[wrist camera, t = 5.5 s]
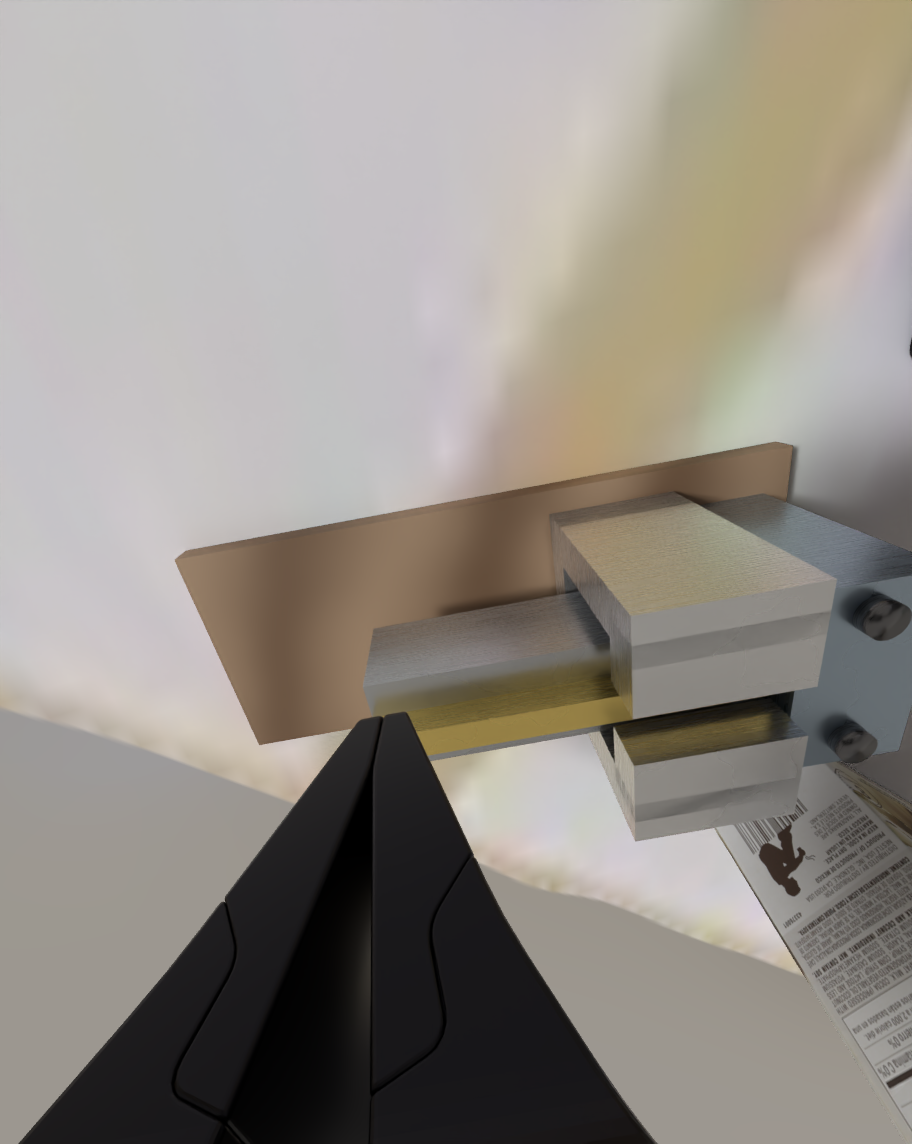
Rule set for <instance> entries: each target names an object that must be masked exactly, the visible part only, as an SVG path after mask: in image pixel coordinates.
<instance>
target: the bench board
mask: <svg viewBox="0 0 912 1144" xmlns="http://www.w3.org/2000/svg"><path fill="white" fill-rule="evenodd" d="M792 450H793V446H792V445H787V444H783V443H779V442H772V443H767V444H761V445H756V446H750V447H745V448H740V449H734V450H729V451H723V452H718V453H713V454H707V455H702V456H696V457H691V458H686V459H680V460H675V461H669V462H664V463H658V464H653V465H648V466H642V467H637V468H631V469H626V470H621V471H615V472H610V473H604V474H599V475H594V476H588V477H583V478H577V479H572V480H566V481H561V482H556V483H550V484H545V485H539V486H534V487H529V488H523V489H518V490H512V491H507V492H502V493H496V494H491V495H485V496H480V497H474V498H469V499H464V500H458V501H453V502H447V503H442V504H437V505H431V506H426V507H420V508H415V509H410V510H404V511H399V512H393V513H388V514H382V515H377V516H372V517H366V518H361V519H355V520H350V521H345V522H339V523H334V524H328V525H323V526H318V527H312V528H307V529H301V530H296V531H290V532H285V533H280V534H274V535H269V536H263V537H258V538H253V539H247V540H242V541H236V542H231V543H226V544H220V545H215V546H209V547H204V548H198V549H193V550H188V551H185V552H184V553H183V554H181V555H180V556H179V557H178V558H176V559H175V562H176V564H177V567H178V569H179V571H180V573H181V575H182V577H183V580H184V582H185V584H186V586H187V588H188V591H189V593H190V595H191V597H192V599H193V601H194V604H195V606H196V608H197V610H198V612H199V615H200V617H201V619H202V621H203V623H204V625H205V628H206V630H207V632H208V634H209V636H210V638H211V641H212V643H213V645H214V647H215V649H216V652H217V654H218V656H219V658H220V660H221V662H222V665H223V667H224V669H225V671H226V673H227V676H228V678H229V680H230V682H231V684H232V686H233V689H234V691H235V693H236V695H237V697H238V700H239V702H240V704H241V706H242V708H243V710H244V713H245V715H246V717H247V719H248V721H249V724H250V726H251V728H252V730H253V732H254V734H255V737H256V739H257V741H258V743H259V745H262V744H268V743H273V742H279V741H285V740H290V739H296V738H301V737H307V736H313V735H318V734H324V733H330V732H335V731H341V730H346V729H352V728H354V726H355V725H356V724H357V722H358V721H360V720H361V719H365V718H370V717H372V715H371V712H370V708H369V705H368V702H367V699H366V696H365V693H364V689H363V683H364V677H365V672H366V667H367V661H368V656H369V651H370V645H371V640H372V635H373V630H374V628H379V627H385V626H390V625H396V624H401V623H407V622H412V621H418V620H423V619H429V618H434V617H440V616H445V615H451V614H456V613H462V612H467V611H473V610H478V609H484V608H489V607H495V606H501V605H506V604H512V603H517V602H523V601H528V600H534V599H539V598H545V597H550V596H556V595H557V592H556V581H555V570H554V560H553V549H552V538H551V528H550V517H549V514H553V513H558V512H564V511H569V510H575V509H580V508H586V507H591V506H596V505H602V504H607V503H613V502H618V501H624V500H629V499H635V498H640V497H645V496H651V495H656V494H662V493H667V492H675V493H677V494H679V495H681V496H683V497H685V498H686V499H688V500H690V501H692V502H694V503H696V504H698V505H702V504H708V503H713V502H718V501H724V500H729V499H735V498H740V497H746V496H751V495H757V494H762V493H764V494H767V495H769V496H772V497H774V498H777V499H779V500H782V501H784V502H786V499H787V491H788V483H789V475H790V466H791V458H792Z"/></svg>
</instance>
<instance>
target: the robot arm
mask: <svg viewBox="0 0 912 1144" xmlns="http://www.w3.org/2000/svg"><path fill="white" fill-rule="evenodd" d="M910 353H911V356H912V340H911V345H910ZM19 1144H657V1142H656V1141H655V1140H654V1139H653V1138H652V1136H651V1135H650V1134H649V1133H648V1131H647V1130H646V1129H645V1128H644V1126H643V1125H642V1124H641V1122H640V1121H639V1120H638V1119H637V1117H636V1116H635V1115H634V1113H633V1112H632V1111H631V1109H630V1108H629V1106H628V1105H627V1104H626V1102H625V1101H624V1100H623V1098H622V1097H621V1095H620V1094H619V1093H618V1091H617V1090H616V1088H615V1087H614V1085H613V1084H612V1083H611V1081H610V1080H609V1078H608V1077H607V1076H606V1074H605V1072H604V1071H603V1070H602V1068H601V1067H600V1065H599V1064H598V1062H597V1061H596V1059H595V1058H594V1056H593V1055H592V1053H591V1051H590V1050H589V1048H588V1047H587V1045H586V1044H585V1042H584V1041H583V1039H582V1038H581V1036H580V1034H579V1033H578V1032H577V1030H576V1028H575V1027H574V1026H573V1024H572V1022H571V1021H570V1019H569V1018H568V1016H567V1014H566V1013H565V1011H564V1010H563V1008H562V1007H561V1005H560V1004H559V1002H558V1001H557V999H556V998H555V996H554V994H553V993H552V991H551V990H550V988H549V987H548V985H547V984H546V982H545V981H544V979H543V977H542V976H541V974H540V973H539V971H538V970H537V968H536V967H535V965H534V964H533V962H532V960H531V959H530V957H529V956H528V954H527V953H526V951H525V949H524V948H523V946H522V944H521V943H520V941H519V939H518V938H517V936H516V934H515V933H514V931H513V929H512V928H511V926H510V924H509V923H508V921H507V919H506V918H505V916H504V915H503V913H502V910H501V908H500V907H499V905H498V903H497V901H496V899H495V897H494V895H493V893H492V891H491V889H490V887H489V885H488V883H487V881H486V879H485V877H484V875H483V873H482V871H481V868H480V866H479V864H478V862H477V860H476V858H474V854H473V852H472V850H471V848H470V845H469V843H468V841H467V839H466V837H465V835H464V833H463V830H462V828H461V826H460V824H459V822H458V820H457V818H456V815H455V813H454V811H453V809H452V807H451V805H450V803H449V801H448V798H447V796H446V794H445V792H444V790H443V788H442V786H441V783H440V781H439V779H438V777H437V775H436V773H435V771H434V768H433V766H432V764H431V762H430V760H429V758H428V756H427V753H426V751H425V749H424V747H423V745H422V743H421V741H420V738H419V736H418V734H417V732H416V730H415V728H414V726H413V723H412V721H411V719H410V717H409V715H408V713H407V712H405V711H403V712H397V713H392V714H387V715H386V716H384V718H383V717H382V716H376V717H370V718H365V719H361V720H360V721H358V722H357V724H356V725H355V726H354V728H353V729H352V730H351V732H350V733H349V734H348V736H347V737H346V738H345V739H344V741H343V742H342V743H341V745H340V746H339V747H338V749H337V750H336V751H335V753H334V754H333V755H332V757H331V758H330V759H329V761H328V762H327V763H326V764H325V766H324V767H323V768H322V770H321V771H320V772H319V774H318V775H317V776H316V778H315V779H314V780H313V782H312V783H311V784H310V786H309V787H308V788H307V789H306V791H305V792H304V793H303V795H302V796H301V797H300V799H299V800H298V801H297V803H296V804H295V805H294V807H293V808H292V809H291V811H290V812H289V813H288V815H287V816H286V817H285V819H284V820H283V821H282V822H281V824H280V825H279V826H278V828H277V829H276V830H275V832H274V833H273V834H272V836H271V837H270V838H269V840H268V841H267V842H266V844H265V845H264V846H263V847H262V849H261V850H260V851H259V853H258V854H257V855H256V857H255V858H254V859H253V861H252V862H251V863H250V865H249V866H248V867H247V868H246V870H245V871H244V872H243V874H242V875H241V876H240V878H239V879H238V880H237V882H236V883H235V884H234V886H233V887H232V888H231V890H230V891H229V892H228V894H227V895H226V896H225V902H221V903H220V904H219V905H218V906H217V908H216V909H215V910H214V912H213V913H212V914H211V916H210V917H209V918H208V920H207V921H206V922H205V923H204V925H203V926H202V927H201V929H200V930H199V931H198V933H197V934H196V935H195V936H194V938H193V939H192V940H191V942H190V943H189V944H188V945H187V947H186V948H185V949H184V950H183V952H182V953H181V954H180V955H179V957H178V958H177V959H176V960H175V962H174V963H173V964H172V965H171V967H170V968H169V970H168V971H167V972H166V973H165V974H164V975H163V977H162V978H161V979H160V980H159V981H158V983H157V984H156V985H155V986H154V987H153V989H152V990H151V991H150V992H149V993H148V994H147V996H146V997H145V998H144V999H143V1000H142V1001H141V1003H140V1004H139V1005H138V1006H137V1008H136V1009H135V1010H134V1011H133V1012H132V1013H131V1015H130V1016H129V1017H128V1018H127V1019H126V1020H125V1022H124V1023H123V1024H122V1025H121V1026H120V1027H119V1029H118V1030H117V1031H116V1032H115V1033H114V1034H113V1036H112V1037H111V1038H110V1039H109V1040H108V1041H107V1043H106V1044H105V1045H104V1046H103V1047H102V1048H101V1049H100V1050H99V1052H98V1053H97V1054H96V1055H95V1056H94V1057H93V1058H92V1060H91V1061H90V1062H89V1063H88V1064H87V1065H86V1067H85V1068H84V1069H83V1070H82V1071H81V1072H80V1073H79V1075H78V1076H77V1077H76V1078H75V1079H74V1080H73V1082H72V1083H71V1084H70V1085H69V1086H68V1087H67V1088H66V1090H65V1091H64V1092H63V1093H62V1094H61V1095H60V1096H59V1098H58V1099H57V1100H56V1101H55V1102H54V1103H53V1105H52V1106H51V1107H50V1108H49V1109H48V1110H47V1111H46V1113H45V1114H44V1115H43V1116H42V1117H41V1118H40V1120H39V1121H38V1122H37V1123H36V1124H35V1125H34V1126H33V1128H32V1129H31V1130H30V1131H29V1132H28V1133H27V1134H26V1136H25V1137H24V1138H23V1139H22V1140H21V1141H20V1142H19Z"/></svg>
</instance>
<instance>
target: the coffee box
mask: <svg viewBox="0 0 912 1144" xmlns="http://www.w3.org/2000/svg"><path fill="white" fill-rule="evenodd" d="M715 830H716V832H717V834H718V835H719V837H720V838H721V840H722V842H723V843H724V845H725V846H726V848H727V850H728V851H729V853H730V854H731V856H732V858H733V859H734V861H735V863H736V864H737V866H738V868H739V869H740V871H741V873H742V874H743V876H744V878H745V879H746V881H747V882H748V884H749V886H750V887H751V889H752V891H753V892H754V894H755V896H756V897H757V899H758V901H759V902H760V904H761V906H762V907H763V909H764V911H765V912H766V914H767V916H768V917H769V919H770V920H771V922H772V924H773V926H774V927H775V929H776V930H777V932H778V934H779V935H780V937H781V939H782V940H783V942H784V944H785V945H786V947H787V949H788V950H789V952H790V954H791V955H792V957H793V959H794V960H795V962H796V964H797V965H798V967H799V968H800V970H801V972H802V973H803V975H804V976H805V978H806V980H807V982H808V983H809V985H810V987H811V989H812V990H813V992H814V993H815V995H816V997H817V999H818V1000H819V1002H820V1004H821V1005H822V1007H823V1009H824V1010H825V1012H826V1013H827V1015H828V1017H829V1018H830V1020H831V1022H832V1023H833V1025H834V1027H835V1028H836V1030H837V1032H838V1033H839V1035H840V1037H841V1038H842V1040H843V1042H844V1043H845V1045H846V1047H847V1048H848V1050H849V1052H850V1053H851V1055H852V1057H853V1058H854V1060H855V1061H856V1063H857V1065H858V1066H859V1068H860V1070H861V1071H862V1073H863V1075H864V1076H865V1078H866V1080H867V1081H868V1083H869V1085H870V1086H871V1088H872V1090H873V1091H874V1093H875V1095H876V1096H877V1098H878V1100H879V1101H880V1103H881V1105H882V1106H883V1108H884V1109H885V1111H886V1113H887V1114H888V1116H889V1118H890V1119H891V1121H892V1122H893V1124H894V1126H895V1128H896V1129H897V1131H898V1132H899V1134H900V1136H901V1137H902V1139H903V1141H904V1142H905V1144H912V804H910V803H909V802H907V801H906V800H904V799H902V798H900V797H899V796H897V795H895V794H894V793H892V792H890V791H888V790H887V789H885V788H883V787H882V786H880V785H878V784H876V783H875V782H873V781H871V780H870V779H868V778H866V777H864V776H863V775H861V774H859V773H858V772H856V771H854V770H853V769H851V768H849V767H848V766H846V765H844V764H843V763H841V762H839V761H836V762H830V763H825V764H819V765H813V766H807V767H803V768H802V774H801V779H800V785H799V790H798V796H797V801H796V806H795V812H794V814H791V815H786V816H780V817H774V818H768V819H762V820H757V821H751V822H745V823H739V824H733V825H728V826H722V827H716V828H715Z"/></svg>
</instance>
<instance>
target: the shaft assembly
mask: <svg viewBox="0 0 912 1144" xmlns="http://www.w3.org/2000/svg"><path fill="white" fill-rule="evenodd" d="M699 506H701V507H703V508H705V509H707V510H709V511H711V512H713V513H714V514H716V515H718V516H720V517H722V518H724V519H726V520H728V521H729V522H731V523H733V524H735V525H737V526H739V527H741V528H743V529H744V530H746V531H748V532H750V533H752V534H754V535H756V536H758V537H759V538H761V539H763V540H765V541H767V542H769V543H771V544H773V545H774V546H776V547H778V548H780V549H782V550H784V551H786V552H787V553H789V554H791V555H793V556H795V557H797V558H799V559H801V560H802V561H804V562H806V563H808V564H810V565H812V566H814V567H816V568H817V569H819V570H821V571H823V572H825V573H827V574H829V575H831V576H832V577H834V578H836V579H837V582H836V588H835V593H834V599H833V604H832V610H831V615H830V621H829V626H828V632H827V637H826V643H825V648H824V653H823V659H822V664H821V670H820V675H819V681H818V686H817V687H813V688H807V689H801V690H796V691H790V692H784V693H779V694H773V695H767V696H762V697H756V698H750V699H745V700H739V701H733V702H728V703H722V704H716V705H711V706H705V707H699V708H694V709H688V710H682V711H677V712H671V713H665V714H660V715H654V716H648V717H643V718H637V719H633V718H632V717H631V715H630V713H629V711H628V710H627V708H626V706H625V704H624V703H623V701H622V699H621V698H620V696H619V694H618V692H617V691H616V689H615V687H614V685H613V684H612V682H611V660H610V637H609V635H608V634H607V632H606V631H605V629H604V628H603V626H602V625H601V623H600V622H599V620H598V619H597V617H596V616H595V614H594V613H593V611H592V610H591V608H590V607H589V605H588V604H587V602H586V601H585V599H584V598H583V596H582V595H581V593H580V592H579V591H578V592H572V593H567V594H561V595H556V596H550V597H545V598H539V599H534V600H528V601H523V602H517V603H512V604H506V605H501V606H495V607H489V608H484V609H478V610H473V611H467V612H462V613H456V614H451V615H445V616H440V617H434V618H429V619H423V620H418V621H412V622H407V623H401V624H396V625H390V626H385V627H379V628H374V630H373V635H372V640H371V645H370V651H369V656H368V661H367V667H366V672H365V677H364V683H363V689H364V693H365V696H366V699H367V702H368V705H369V708H370V712H371V715H372V717H376V716H382V717H383V718H384V716H386V715H387V714H392V713H397V712H403V711H405V712H407V713H408V715H409V717H410V719H411V721H412V723H413V726H414V728H415V730H416V732H417V734H418V736H419V738H420V741H421V743H422V745H423V747H424V749H425V751H426V753H427V756H428V758H429V760H430V761H434V760H439V759H445V758H451V757H456V756H462V755H468V754H473V753H479V752H485V751H490V750H496V749H502V748H507V747H513V746H519V745H524V744H530V743H536V742H541V741H547V740H553V739H558V738H564V737H570V736H575V735H581V734H587V733H592V732H598V731H604V730H609V729H613V726H616V725H622V724H628V723H633V722H639V721H645V720H650V719H656V718H662V717H667V716H673V715H679V714H684V713H690V712H696V711H701V710H707V709H713V708H718V707H724V706H730V705H735V704H741V703H747V702H752V701H758V700H764V699H769V698H771V699H772V700H773V701H774V702H775V703H776V704H777V705H778V706H779V707H780V708H781V709H782V710H783V711H784V712H785V713H786V714H787V715H788V716H789V717H790V718H791V719H792V720H793V721H794V722H795V723H796V724H797V725H798V726H799V727H800V728H801V729H802V730H803V731H804V732H805V733H806V734H807V735H808V741H807V746H806V752H805V757H804V763H803V767H807V766H813V765H819V764H825V763H830V762H836V761H844V762H846V763H858V762H861V761H863V760H865V759H867V758H868V757H870V756H871V755H876V754H882V753H888V752H894V751H899V747H900V744H901V741H902V737H903V734H904V730H905V727H906V723H907V720H908V717H909V713H910V710H911V706H912V552H910V551H908V550H905V549H903V548H900V547H897V546H895V545H892V544H890V543H887V542H885V541H882V540H880V539H877V538H875V537H872V536H870V535H867V534H865V533H862V532H860V531H857V530H855V529H852V528H850V527H847V526H845V525H842V524H840V523H837V522H835V521H832V520H829V519H827V518H824V517H822V516H819V515H817V514H814V513H812V512H809V511H807V510H804V509H802V508H799V507H797V506H794V505H792V504H789V503H787V502H784V501H782V500H779V499H777V498H774V497H772V496H769V495H767V494H764V493H762V494H757V495H751V496H746V497H740V498H735V499H729V500H724V501H718V502H713V503H708V504H702V505H699Z"/></svg>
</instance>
